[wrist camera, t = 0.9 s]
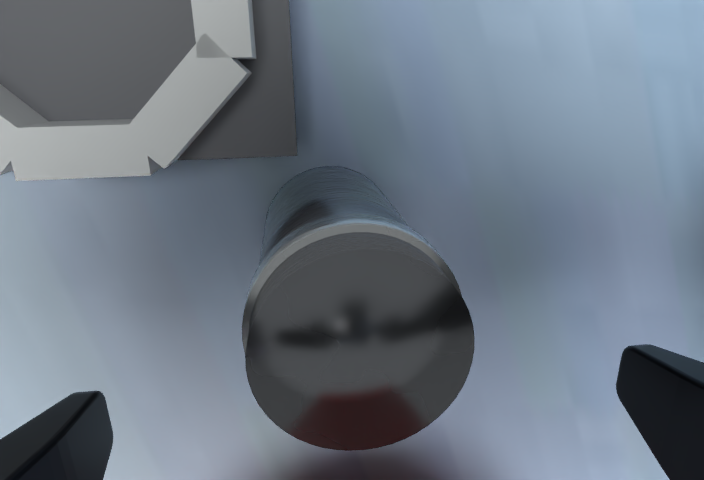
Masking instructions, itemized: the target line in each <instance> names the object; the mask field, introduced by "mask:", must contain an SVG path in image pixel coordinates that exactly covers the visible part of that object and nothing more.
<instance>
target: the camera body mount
mask: <svg viewBox="0 0 704 480" xmlns="http://www.w3.org/2000/svg"><path fill="white" fill-rule="evenodd" d="M277 156H297V142H296V124H295V105H294V87H293V69H292V51H291V33H290V15H289V0H0V175H2V174H5V173H8V172H11V171H14V175H15V179H16V181H31V180H56V179H80V178H105V177H130V176H151V175H152V174H154V173H155V172H156V171H158V170H159V169H160V168H164V169H166V168H167V167H168V166H169V165H171V164H172V163H173V162H175V161H176V160H196V159H223V158H250V157H277Z"/></svg>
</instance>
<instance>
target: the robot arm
mask: <svg viewBox="0 0 704 480" xmlns="http://www.w3.org/2000/svg"><path fill="white" fill-rule="evenodd" d="M616 390H617V394H618V397H619V399H620V401H621V402H622V404H623V406H624V407H625V409H626V411H627V412H628V414H629V415H630V417H631V419H632V420H633V422H634V424H635V425H636V427H637V428H638V430H639V432H640V433H641V435H642V437H643V438H644V440H645V441H646V443H647V445H648V446H649V448H650V449H651V451H652V453H653V454H654V456H655V458H656V459H657V461H658V462H659V464H660V466H661V467H662V469H663V470H664V472H665V473H666V475H667V476H668V478H669V479H670V480H704V363H703V362H700V361H697V360H694V359H691V358H688V357H685V356H682V355H679V354H676V353H674V352H671V351H668V350H665V349H662V348H659V347H656V346H653V345H648V344H645V345H634V346H628V347H626V348H625V349H624V351H623V353H622V357H621V362H620V367H619V372H618V377H617V382H616ZM112 444H113V431H112V426H111V422H110V417H109V413H108V409H107V404H106V400H105V397H104V395H103V393H101V392H100V391H88V392H76V393H73V394H71V395H69V396H68V397H66V398H65V399H63V400H61V401H60V402H58V403H57V404H55V405H54V406H52V407H50V408H49V409H47V410H46V411H44V412H43V413H41V414H40V415H38V416H36V417H35V418H33V419H32V420H30V421H29V422H27V423H25V424H24V425H22V426H21V427H19V428H18V429H16V430H14V431H13V432H11V433H10V434H8V435H7V436H5V437H3V438H2V439H0V480H103V478H104V474H105V470H106V467H107V463H108V460H109V456H110V453H111V449H112Z"/></svg>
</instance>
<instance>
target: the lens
mask: <svg viewBox="0 0 704 480" xmlns="http://www.w3.org/2000/svg"><path fill="white" fill-rule="evenodd" d="M242 340H243V346H244V351H245V358H246V372H247V377H248V382H249V385H250V387H251V390H252V393H253V395H254V397H255V399H256V401H257V402H258V404H259V406H260V407H261V408H262V410H263V411H264V412H265V414H266V415H267V416H268V417H269V418H270V419H271V420H272V421H273V422H274V423H275V424H276V425H277V426H279V427H280V428H281V429H283V430H284V431H285V432H287V433H288V434H290V435H292V436H294V437H295V438H297V439H299V440H302V441H304V442H306V443H309V444H312V445H315V446H319V447H322V448H328V449H334V450H348V451H352V450H366V449H373V448H379V447H382V446H386V445H390V444H393V443H395V442H398V441H401V440H403V439H406V438H408V437H410V436H411V435H413V434H415V433H417V432H419V431H420V430H422V429H423V428H425V427H427V426H428V425H429V424H431V423H432V422H433V421H434V420H436V419H437V418H438V417H439V416H440V415H441V414H442V413H443V412H444V411H445V410H446V409H447V408H448V407H449V406H450V404H451V403H452V402H453V401H454V399H455V398H456V397H457V395H458V393H459V392H460V390H461V389H462V387H463V385H464V383H465V381H466V378H467V376H468V374H469V371H470V367H471V364H472V360H473V353H474V330H473V324H472V320H471V317H470V313H469V310H468V308H467V306H466V304H465V302H464V300H463V298H462V295H461V292H460V289H459V286H458V283H457V281H456V279H455V277H454V275H453V273H452V272H451V270H450V269H449V267H448V266H447V264H446V263H445V262H444V260H443V259H442V258H441V257H440V256H439V254H438V253H437V252H436V251H435V249H434V248H433V247H432V246H431V245H430V244H429V243H428V242H427V241H426V240H425V239H424V238H423V237H422V236H420V235H419V234H418V233H417V232H415V231H414V230H412V229H410V228H409V227H408V226H407V224H406V223H405V222H404V220H403V219H402V218H401V217H400V215H399V214H398V213H397V211H396V210H395V209H394V208H393V206H392V205H391V204H390V202H389V201H388V200H387V198H386V197H385V196H384V195H383V193H382V192H381V191H380V189H379V188H378V187H377V186H376V185H375V184H374V183H373V182H372V181H370V180H369V179H368V178H367V177H365V176H363V175H362V174H360V173H358V172H355V171H353V170H350V169H347V168H342V167H332V166H327V167H318V168H314V169H310V170H308V171H305V172H302V173H301V174H299V175H297V176H295V177H294V178H292V179H291V180H289V181H288V182H287V183H286V184H285V185H284V186H283V187H282V188H281V189H280V190H279V192H278V193H277V194H276V196H275V197H274V199H273V201H272V203H271V205H270V207H269V210H268V214H267V218H266V224H265V231H264V237H263V243H262V250H261V256H260V262H259V267H258V269H257V270H256V272H255V274H254V277H253V279H252V281H251V284H250V287H249V291H248V294H247V299H246V304H245V309H244V315H243V324H242Z"/></svg>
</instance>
